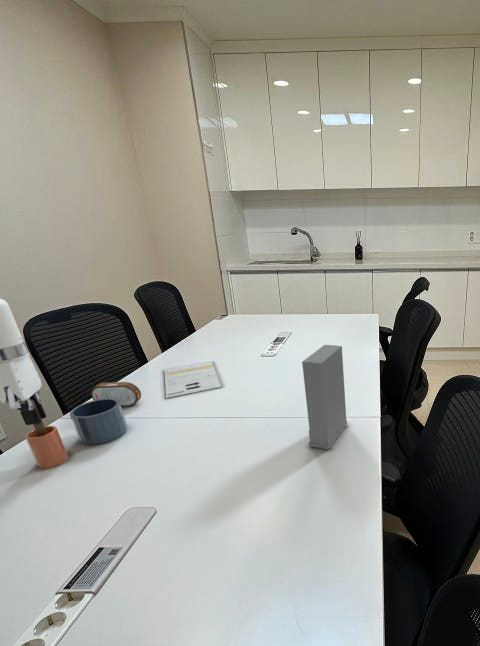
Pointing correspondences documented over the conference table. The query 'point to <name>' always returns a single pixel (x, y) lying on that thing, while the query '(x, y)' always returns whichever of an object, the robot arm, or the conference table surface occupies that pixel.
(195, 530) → the conference table surface
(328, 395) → the cassette tape recorder
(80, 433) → the pot
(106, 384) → the tin
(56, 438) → the cup
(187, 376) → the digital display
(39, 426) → the stick
